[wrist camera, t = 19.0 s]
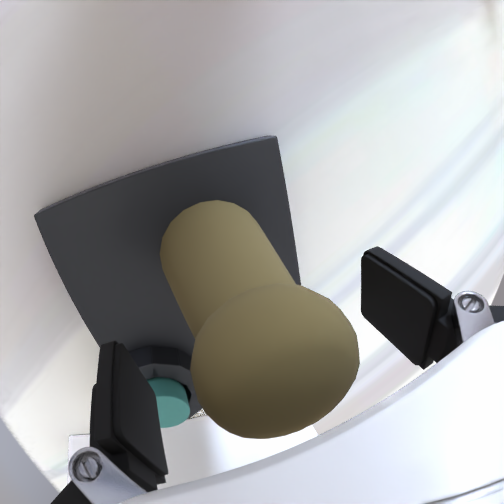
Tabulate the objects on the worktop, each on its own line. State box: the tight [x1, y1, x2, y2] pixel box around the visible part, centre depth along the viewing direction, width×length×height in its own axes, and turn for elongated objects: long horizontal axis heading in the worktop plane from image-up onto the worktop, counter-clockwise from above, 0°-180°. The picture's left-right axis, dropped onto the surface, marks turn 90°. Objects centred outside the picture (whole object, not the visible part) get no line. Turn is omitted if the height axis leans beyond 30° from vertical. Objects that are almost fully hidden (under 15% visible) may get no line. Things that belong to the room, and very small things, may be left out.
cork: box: [160, 200, 360, 439], centre depth 12 cm, size 6×6×11 cm
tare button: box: [147, 377, 190, 428], centre depth 17 cm, size 4×4×2 cm
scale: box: [34, 136, 301, 420], centre depth 17 cm, size 17×15×3 cm
